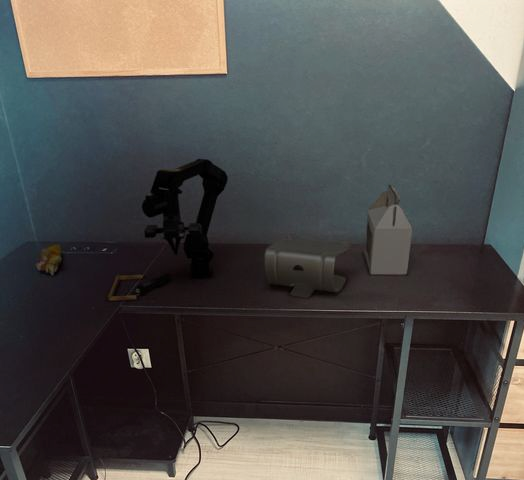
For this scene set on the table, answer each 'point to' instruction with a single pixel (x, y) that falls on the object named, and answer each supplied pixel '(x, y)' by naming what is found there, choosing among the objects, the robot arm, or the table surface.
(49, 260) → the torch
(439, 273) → the table surface
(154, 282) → the electric trimmer
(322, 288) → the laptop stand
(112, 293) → the dock
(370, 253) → the gable box
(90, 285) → the table surface
